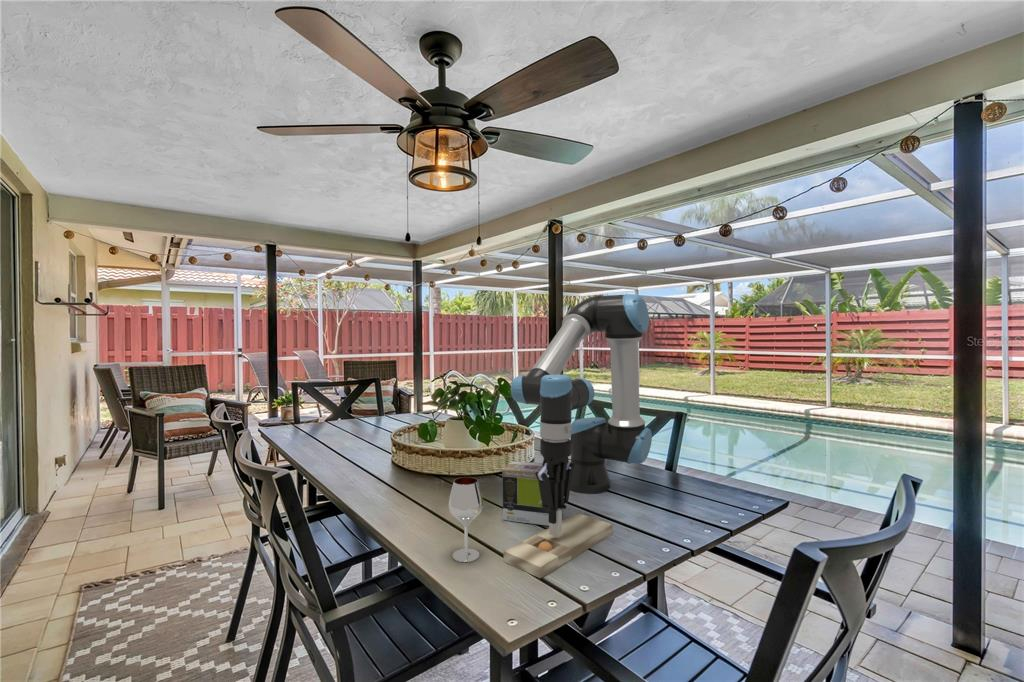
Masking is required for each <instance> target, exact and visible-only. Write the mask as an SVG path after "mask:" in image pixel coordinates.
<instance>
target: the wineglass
mask: <svg viewBox="0 0 1024 682" xmlns="http://www.w3.org/2000/svg"><path fill="white" fill-rule="evenodd" d="M480 486H481V485H480V483H479V479H477V478H475V477H471V476H464V477H463V476H462V477H458V478H456V479H454V480H453V483H452V487H451V490H450V494H449V498H448V499H449V500H448V511H449V512H450V513H451V515H452V516H453V517H454V518H455V519H457V521H459V522H460V523H461V524H462V525H463V527H464V531H463V532H464V538H463V539H464V542H463V543H464V544H463V545H464V548H461V549H458V550H455V551H454V552H453V553H452V559H454V561H455V562H460V563H470V562H473V561H476V560H477V559H479V558H480V552H479V551H478V550H476V549H475V548H469V541H468V539H469V537H468V533H469V532H468V531H469V528H468V527H469V525H470V523H471V522H473V520H475V519H476V518H477V517H478V516H479V515H480V514H481V512H482V510H483V507H484V498H483V493H482V490H481V487H480Z"/></svg>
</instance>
